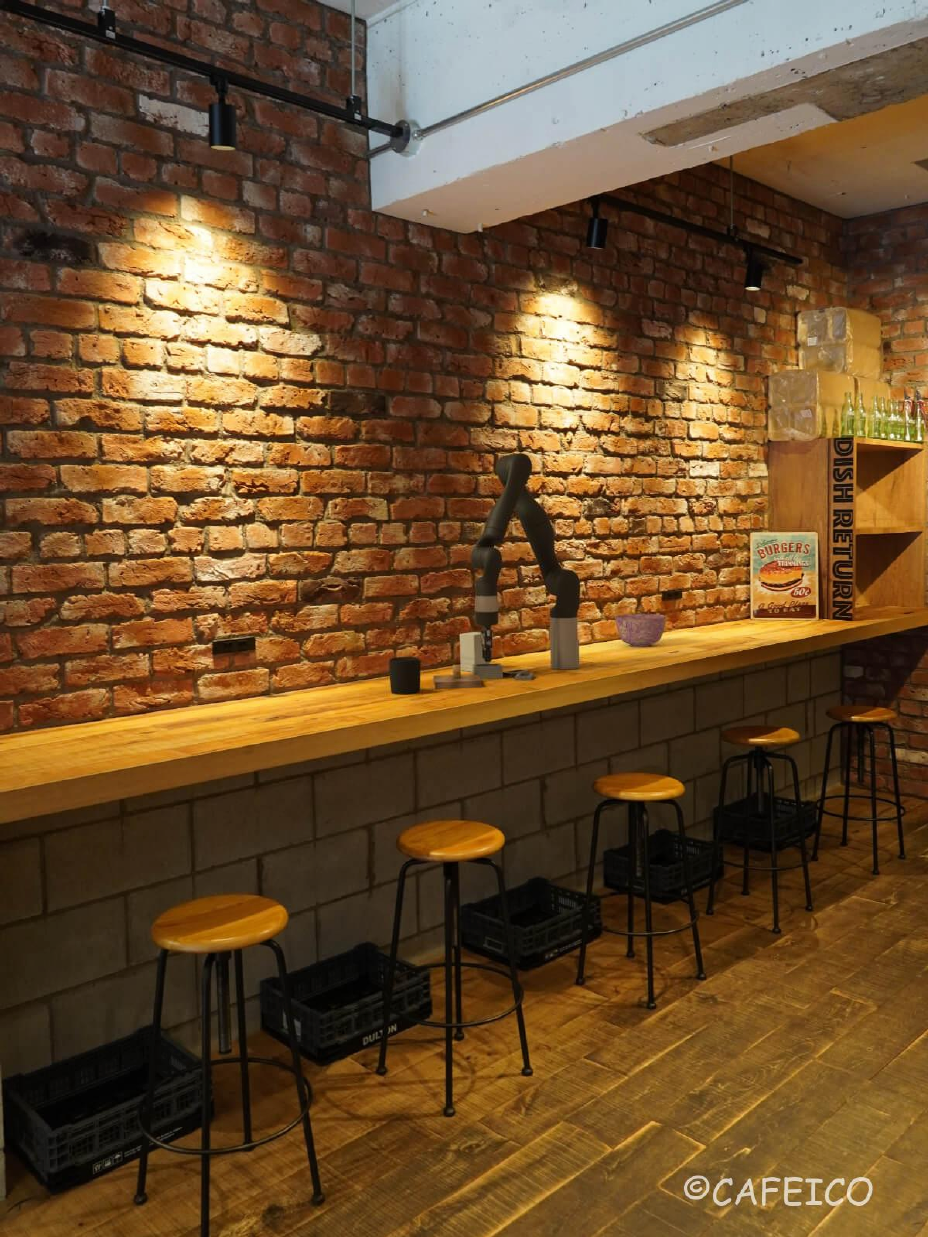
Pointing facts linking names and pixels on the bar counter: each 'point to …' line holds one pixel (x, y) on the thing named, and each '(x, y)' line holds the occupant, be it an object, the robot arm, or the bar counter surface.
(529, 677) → the slack link
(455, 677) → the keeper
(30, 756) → the bar counter surface
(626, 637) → the purple bowl
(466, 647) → the supplement box
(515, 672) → the slack link
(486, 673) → the end link
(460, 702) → the bar counter surface
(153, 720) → the bar counter surface
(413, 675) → the pen holder
